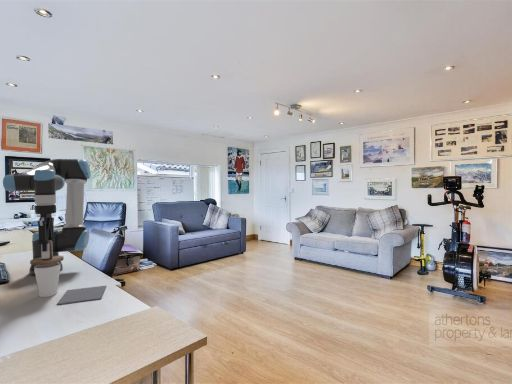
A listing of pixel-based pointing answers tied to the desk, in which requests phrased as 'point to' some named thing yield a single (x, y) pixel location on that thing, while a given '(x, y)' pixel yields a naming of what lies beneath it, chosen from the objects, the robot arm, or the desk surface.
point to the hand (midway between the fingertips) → (47, 257)
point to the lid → (50, 260)
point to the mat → (82, 295)
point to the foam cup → (47, 278)
